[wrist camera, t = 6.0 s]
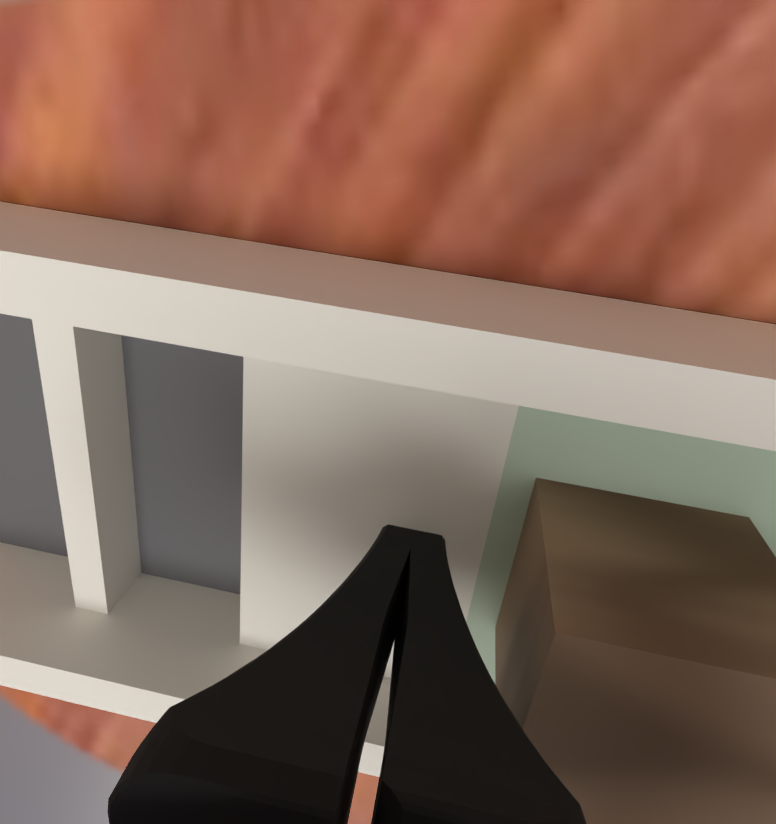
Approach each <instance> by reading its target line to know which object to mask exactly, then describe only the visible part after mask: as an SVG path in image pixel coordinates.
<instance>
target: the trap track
mask: <svg viewBox="0 0 776 824" xmlns="http://www.w3.org/2000/svg"><path fill="white" fill-rule="evenodd" d="M536 478H541V479H547V480H552V481H557V482H563V483H568V484H573V485H579V486H584V487H590V488H595V489H600V490H606V491H611V492H616V493H622V494H627V495H632V496H638V497H643V498H648V499H654V500H659V501H664V502H670V503H675V504H681V505H686V506H691V507H697V508H702V509H707V510H713V511H718V512H723V513H729V514H734V515H739V516H745V517H749V518H750V519H751V521H752V522H753V524H754V525H755V527H756V528H757V530H758V531H759V533H760V534H761V536H762V537H763V539H764V540H765V542H766V543H767V545H768V546H769V548H770V549H771V551H772V552H773V554H774V555H775V557H776V324H771V323H764V322H758V321H752V320H745V319H739V318H733V317H726V316H720V315H714V314H707V313H701V312H695V311H688V310H682V309H676V308H670V307H663V306H657V305H651V304H644V303H638V302H632V301H625V300H619V299H613V298H606V297H600V296H594V295H587V294H581V293H575V292H568V291H562V290H556V289H549V288H543V287H537V286H530V285H524V284H518V283H511V282H505V281H499V280H492V279H486V278H480V277H474V276H467V275H461V274H455V273H448V272H442V271H436V270H429V269H423V268H417V267H410V266H404V265H398V264H391V263H385V262H379V261H372V260H366V259H360V258H353V257H347V256H341V255H334V254H328V253H322V252H315V251H309V250H303V249H297V248H290V247H284V246H278V245H271V244H265V243H259V242H252V241H246V240H240V239H233V238H227V237H221V236H214V235H208V234H202V233H195V232H189V231H183V230H176V229H170V228H164V227H157V226H151V225H145V224H138V223H132V222H126V221H120V220H113V219H107V218H101V217H94V216H88V215H82V214H75V213H69V212H63V211H56V210H50V209H44V208H37V207H31V206H25V205H18V204H12V203H6V202H0V685H2V686H6V687H10V688H15V689H19V690H23V691H27V692H31V693H35V694H39V695H43V696H48V697H52V698H56V699H60V700H64V701H68V702H72V703H76V704H81V705H85V706H89V707H93V708H97V709H101V710H105V711H109V712H114V713H118V714H122V715H126V716H130V717H134V718H138V719H142V720H147V721H151V722H155V723H157V722H158V721H159V719H160V718H161V717H162V716H163V714H164V713H165V712H166V711H167V710H168V708H169V707H171V706H173V705H175V704H177V703H179V702H181V701H183V700H185V699H187V698H189V697H191V696H193V695H195V694H197V693H198V692H200V691H202V690H204V689H206V688H208V687H210V686H212V685H214V684H215V683H217V682H219V681H221V680H222V679H224V678H226V677H227V676H229V675H230V674H232V673H233V672H235V671H237V670H238V669H240V668H241V667H243V666H244V665H246V664H248V663H249V662H251V661H252V660H254V659H255V658H257V657H258V656H260V655H261V654H263V653H264V652H266V651H267V650H268V649H270V648H271V647H272V646H274V645H275V644H276V643H278V642H279V641H280V640H281V639H283V638H284V637H285V636H287V635H288V634H289V633H290V632H292V631H293V630H294V629H295V628H296V627H298V626H299V625H300V624H301V623H302V622H303V621H305V620H306V619H307V618H308V617H309V616H310V615H311V614H312V613H313V612H315V611H316V610H317V609H318V608H319V607H320V606H321V605H322V604H323V603H324V602H325V601H326V600H327V599H328V598H329V597H330V596H331V594H332V593H333V592H334V591H335V590H336V589H337V588H338V587H339V586H340V585H341V584H342V583H343V582H344V581H345V579H346V578H347V577H348V576H349V575H350V574H351V572H352V571H353V570H354V569H355V567H356V566H357V565H358V564H359V563H360V561H361V560H362V559H363V557H364V556H365V555H366V553H367V552H368V551H369V549H370V548H371V546H372V545H373V543H374V542H375V540H376V539H377V537H378V535H379V533H380V532H381V529H382V527H384V526H386V525H388V524H389V525H394V526H399V527H404V528H409V529H414V530H419V531H424V532H429V533H434V534H439V535H442V536H443V538H444V539H445V544H446V553H447V559H448V564H449V569H450V573H451V577H452V581H453V584H454V588H455V591H456V594H457V597H458V600H459V603H460V606H461V609H462V612H463V615H464V618H465V620H466V623H467V625H468V628H469V630H470V633H471V635H472V638H473V640H474V642H475V645H476V647H477V649H478V651H479V654H480V656H481V658H482V660H483V662H484V664H485V666H486V668H487V670H488V672H489V674H490V676H491V678H492V679H493V681H494V683H495V626H496V623H497V619H498V615H499V612H500V608H501V604H502V601H503V597H504V593H505V590H506V586H507V582H508V579H509V575H510V571H511V568H512V564H513V560H514V557H515V553H516V549H517V546H518V542H519V538H520V535H521V531H522V527H523V524H524V520H525V516H526V513H527V509H528V505H529V502H530V498H531V494H532V491H533V487H534V483H535V480H536ZM393 650H394V643H393V646H392V650H391V653H390V657H389V660H388V663H387V667H386V670H385V673H384V677H383V680H382V684H381V687H380V690H379V694H378V697H377V700H376V704H375V707H374V710H373V714H372V717H371V720H370V724H369V727H368V730H367V734H366V738H365V742H364V746H363V750H362V754H361V759H360V764H359V769H358V772H361V773H365V774H369V775H373V776H377V777H380V771H381V766H382V760H383V753H384V746H385V738H386V728H387V717H388V706H389V695H390V683H391V672H392V661H393Z"/></svg>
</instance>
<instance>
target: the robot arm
mask: <svg viewBox="0 0 776 824" xmlns="http://www.w3.org/2000/svg"><path fill="white" fill-rule="evenodd" d="M393 643H394V650H393V661H392V672H391V683H390V695H389V706H388V717H387V728H386V738H385V746H384V753H383V760H382V766H381V771H380V777H379V783H378V788H377V794H376V800H375V805H374V811H373V817H372V822H371V824H586V820H585V817H584V814H583V811H582V808H581V806H580V804H579V803H578V801H577V800H576V799H575V798H574V797H573V795H572V794H571V793H570V792H569V790H568V789H567V788H566V787H565V786H564V784H563V783H562V782H561V781H560V780H559V778H558V777H557V776H556V775H555V774H554V772H553V771H552V770H551V768H550V767H549V766H548V765H547V763H546V762H545V761H544V759H543V758H542V756H541V755H540V754H539V752H538V751H537V749H536V748H535V747H534V745H533V744H532V742H531V741H530V740H529V738H528V737H527V735H526V734H525V732H524V731H523V729H522V728H521V726H520V724H519V723H518V721H517V720H516V718H515V716H514V715H513V713H512V712H511V710H510V709H509V707H508V705H507V704H506V702H505V701H504V699H503V697H502V696H501V694H500V692H499V690H498V688H497V687H496V685H495V683H494V681H493V679H492V678H491V676H490V674H489V672H488V670H487V668H486V666H485V664H484V662H483V660H482V658H481V656H480V654H479V651H478V649H477V647H476V645H475V642H474V640H473V638H472V635H471V633H470V630H469V628H468V625H467V623H466V620H465V618H464V615H463V612H462V609H461V606H460V603H459V600H458V597H457V594H456V591H455V588H454V584H453V581H452V577H451V573H450V569H449V564H448V559H447V553H446V544H445V539H444V538H443V536H442V535H439V534H434V533H429V532H424V531H419V530H414V529H409V528H404V527H399V526H394V525H389V524H388V525H386V526H384V527H382V529H381V532H380V533H379V535H378V537H377V539H376V540H375V542H374V543H373V545H372V546H371V548H370V549H369V551H368V552H367V553H366V555H365V556H364V557H363V559H362V560H361V561H360V563H359V564H358V565H357V566H356V567H355V569H354V570H353V571H352V572H351V574H350V575H349V576H348V577H347V578H346V579H345V581H344V582H343V583H342V584H341V585H340V586H339V587H338V588H337V589H336V590H335V591H334V592H333V593H332V594H331V596H330V597H329V598H328V599H327V600H326V601H325V602H324V603H323V604H322V605H321V606H320V607H319V608H318V609H317V610H316V611H315V612H313V613H312V614H311V615H310V616H309V617H308V618H307V619H306V620H305V621H303V622H302V623H301V624H300V625H299V626H298V627H296V628H295V629H294V630H293V631H292V632H290V633H289V634H288V635H287V636H285V637H284V638H283V639H281V640H280V641H279V642H278V643H276V644H275V645H274V646H272V647H271V648H270V649H268V650H267V651H266V652H264V653H263V654H261V655H260V656H258V657H257V658H255V659H254V660H252V661H251V662H249V663H248V664H246V665H244V666H243V667H241V668H240V669H238V670H237V671H235V672H233V673H232V674H230V675H229V676H227V677H226V678H224V679H222V680H221V681H219V682H217V683H215V684H214V685H212V686H210V687H208V688H206V689H204V690H202V691H200V692H198V693H197V694H195V695H193V696H191V697H189V698H187V699H185V700H183V701H181V702H179V703H177V704H175V705H173V706H171V707H169V708H168V710H167V711H166V712H165V713H164V714H163V716H162V717H161V718H160V719H159V721H158V722H157V723H156V724H155V725H154V727H153V728H152V729H151V731H150V732H149V734H148V735H147V736H146V738H145V739H144V740H143V742H142V743H141V744H140V746H139V747H138V749H137V750H136V752H135V753H134V755H133V756H132V758H131V760H130V762H129V763H128V765H127V767H126V769H125V771H124V772H123V774H122V776H121V778H120V779H119V781H118V783H117V785H116V787H115V788H114V790H113V792H112V794H111V795H110V797H109V801H108V817H109V823H110V824H347V823H348V818H349V813H350V808H351V803H352V798H353V793H354V788H355V783H356V779H357V774H358V769H359V764H360V759H361V754H362V750H363V746H364V742H365V738H366V734H367V730H368V727H369V724H370V720H371V717H372V714H373V710H374V707H375V704H376V700H377V697H378V694H379V690H380V687H381V684H382V680H383V677H384V673H385V670H386V667H387V663H388V660H389V657H390V653H391V650H392V646H393Z"/></svg>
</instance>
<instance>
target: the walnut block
mask: <svg viewBox="0 0 776 824" xmlns="http://www.w3.org/2000/svg"><path fill="white" fill-rule="evenodd" d="M495 685H496V687H497V688H498V690H499V692H500V694H501V696H502V697H503V699H504V701H505V702H506V704H507V705H508V707H509V709H510V710H511V712H512V713H513V715H514V716H515V718H516V720H517V721H518V723H519V724H520V726H521V728H522V729H523V731H524V732H525V734H526V735H527V737H528V738H529V740H530V741H531V742H532V744H533V745H534V747H535V748H536V749H537V751H538V752H539V754H540V755H541V756H542V758H543V759H544V761H545V762H546V763H547V765H548V766H549V767H550V768H551V770H552V771H553V772H554V774H555V775H556V776H557V777H558V778H559V780H560V781H561V782H562V783H563V784H564V786H565V787H566V788H567V789H568V790H569V792H570V793H571V794H572V795H573V797H574V798H575V799H576V800H577V801H578V803H579V804H580V806H581V808H582V811H583V814H584V817H585V820H586V824H776V557H775V555H774V554H773V552H772V551H771V549H770V548H769V546H768V545H767V543H766V542H765V540H764V539H763V537H762V536H761V534H760V533H759V531H758V530H757V528H756V527H755V525H754V524H753V522H752V521H751V519H750V518H749V517H745V516H739V515H734V514H729V513H723V512H718V511H713V510H707V509H702V508H697V507H691V506H686V505H681V504H675V503H670V502H664V501H659V500H654V499H648V498H643V497H638V496H632V495H627V494H622V493H616V492H611V491H606V490H600V489H595V488H590V487H584V486H579V485H573V484H568V483H563V482H557V481H552V480H547V479H541V478H536V480H535V483H534V487H533V491H532V494H531V498H530V502H529V505H528V509H527V513H526V516H525V520H524V524H523V527H522V531H521V535H520V538H519V542H518V546H517V549H516V553H515V557H514V560H513V564H512V568H511V571H510V575H509V579H508V582H507V586H506V590H505V593H504V597H503V601H502V604H501V608H500V612H499V615H498V619H497V623H496V626H495Z"/></svg>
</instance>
